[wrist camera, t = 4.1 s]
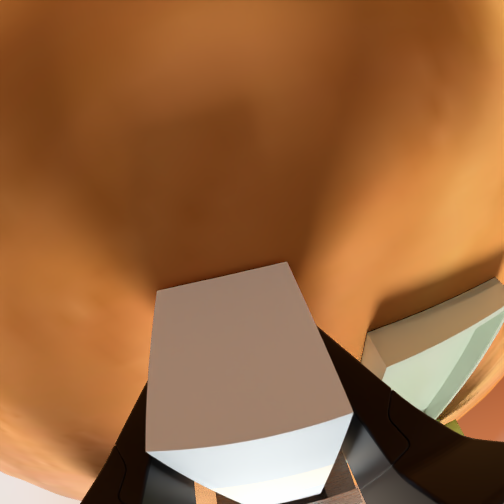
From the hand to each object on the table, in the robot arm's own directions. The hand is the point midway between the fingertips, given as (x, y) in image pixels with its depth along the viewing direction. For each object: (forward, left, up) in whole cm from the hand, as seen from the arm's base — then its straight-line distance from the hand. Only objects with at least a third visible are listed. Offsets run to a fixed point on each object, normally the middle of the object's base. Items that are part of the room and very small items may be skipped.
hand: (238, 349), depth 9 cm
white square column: (-5, 0, -1) cm, 5 cm away
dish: (-12, -10, -1) cm, 15 cm away
